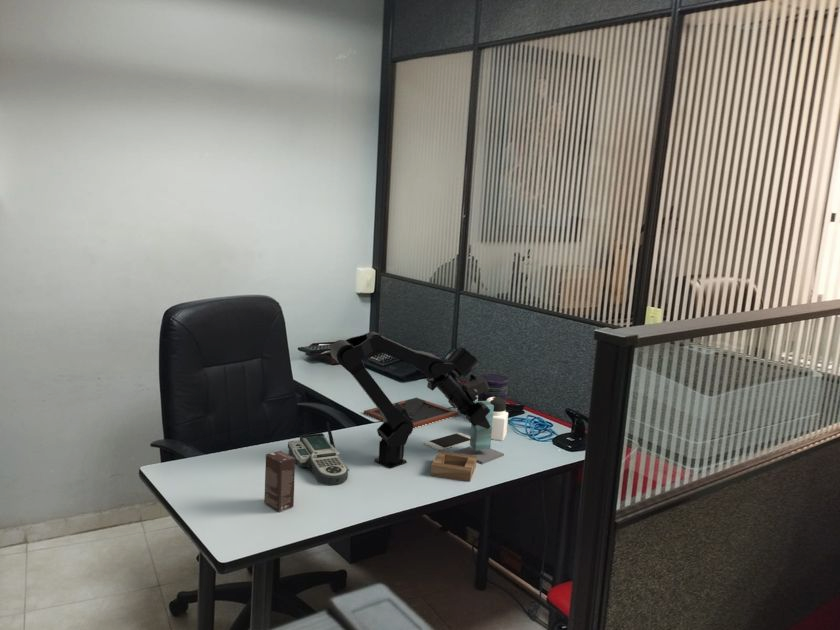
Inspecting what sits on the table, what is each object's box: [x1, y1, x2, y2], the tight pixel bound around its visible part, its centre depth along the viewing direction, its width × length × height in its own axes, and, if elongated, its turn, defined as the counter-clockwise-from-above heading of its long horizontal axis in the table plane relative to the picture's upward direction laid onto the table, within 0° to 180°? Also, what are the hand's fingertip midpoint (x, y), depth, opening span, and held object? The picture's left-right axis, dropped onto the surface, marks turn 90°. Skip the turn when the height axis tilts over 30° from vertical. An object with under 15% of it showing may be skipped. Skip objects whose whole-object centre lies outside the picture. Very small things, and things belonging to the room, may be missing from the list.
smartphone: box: [423, 431, 470, 451], centre depth 204 cm, size 7×16×1 cm, turn 133°
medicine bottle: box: [487, 397, 509, 442], centre depth 210 cm, size 7×7×12 cm
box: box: [263, 450, 296, 513], centre depth 156 cm, size 6×4×12 cm
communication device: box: [287, 421, 350, 486], centre depth 178 cm, size 12×24×9 cm, turn 26°
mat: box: [454, 445, 505, 465], centre depth 195 cm, size 10×10×1 cm
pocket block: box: [430, 450, 477, 482], centre depth 182 cm, size 10×10×3 cm
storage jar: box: [477, 373, 509, 412], centre depth 223 cm, size 10×10×15 cm
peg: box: [469, 400, 494, 450], centre depth 193 cm, size 4×4×13 cm
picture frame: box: [363, 397, 460, 429], centre depth 227 cm, size 20×2×25 cm
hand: (486, 424), depth 194 cm, fingers closed on peg, 4 cm apart
